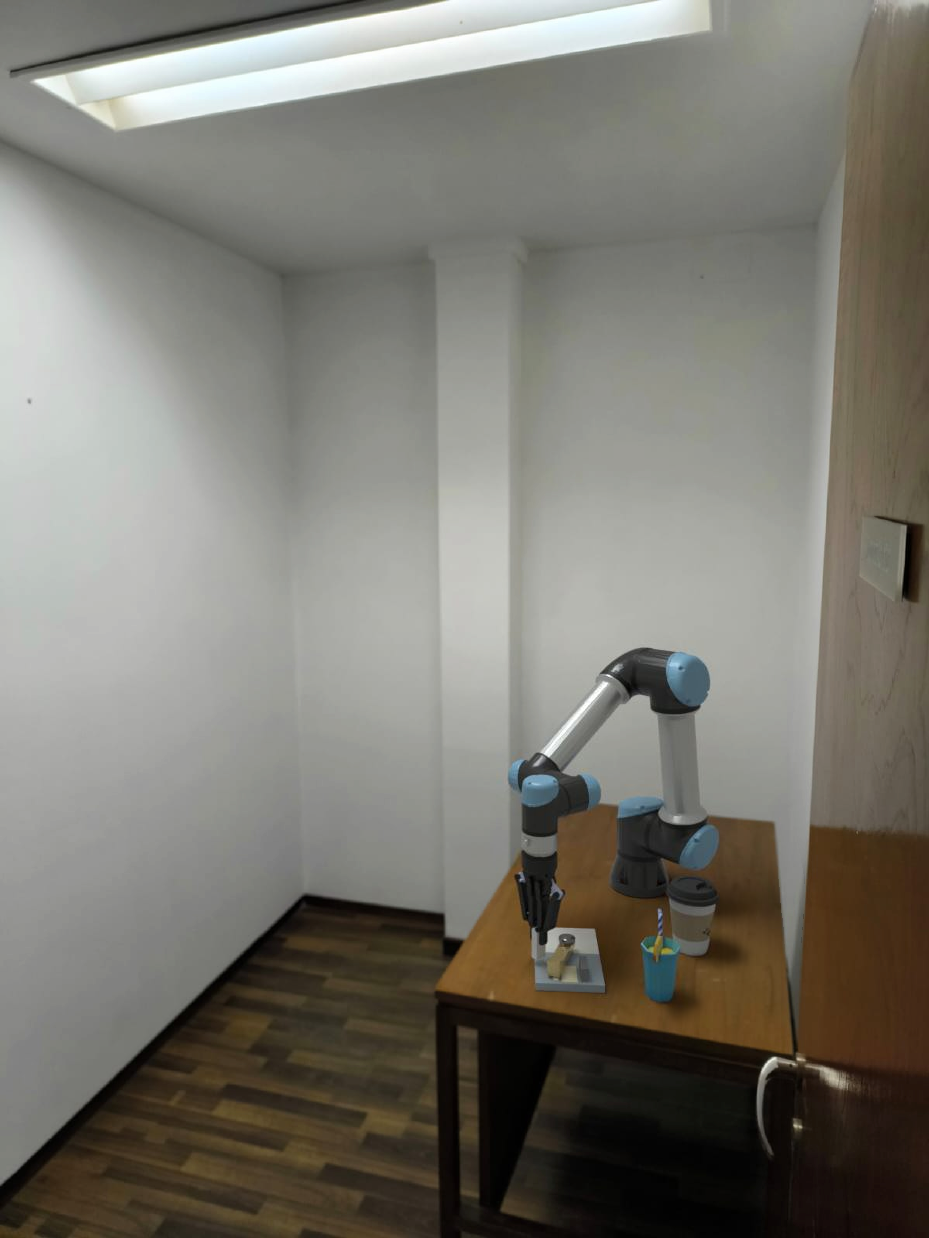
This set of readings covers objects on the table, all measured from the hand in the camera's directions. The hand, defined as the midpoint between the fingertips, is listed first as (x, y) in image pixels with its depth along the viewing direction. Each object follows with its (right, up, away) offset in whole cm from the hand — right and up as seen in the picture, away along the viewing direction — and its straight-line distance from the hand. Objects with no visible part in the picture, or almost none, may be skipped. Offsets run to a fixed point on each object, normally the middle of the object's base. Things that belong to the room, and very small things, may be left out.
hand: (538, 956), depth 172 cm
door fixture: (+6, -3, +4) cm, 8 cm away
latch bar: (+5, -1, 0) cm, 5 cm away
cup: (+24, -4, -8) cm, 25 cm away
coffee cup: (+35, -2, +9) cm, 36 cm away
